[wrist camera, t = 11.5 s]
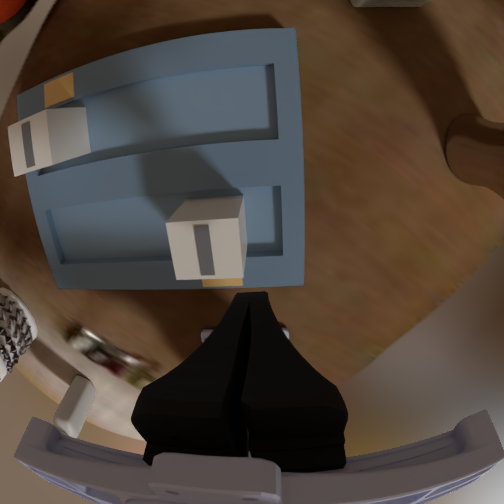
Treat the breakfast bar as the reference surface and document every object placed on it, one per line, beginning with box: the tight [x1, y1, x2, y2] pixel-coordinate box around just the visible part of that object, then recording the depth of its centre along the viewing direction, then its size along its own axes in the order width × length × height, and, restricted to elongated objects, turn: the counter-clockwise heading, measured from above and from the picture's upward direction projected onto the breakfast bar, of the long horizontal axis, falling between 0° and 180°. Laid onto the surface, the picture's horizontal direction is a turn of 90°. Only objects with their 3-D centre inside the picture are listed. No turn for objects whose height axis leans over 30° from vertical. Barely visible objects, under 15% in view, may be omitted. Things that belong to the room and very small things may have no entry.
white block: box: [166, 195, 247, 280], centre depth 18 cm, size 4×4×5 cm
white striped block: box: [8, 107, 91, 177], centre depth 16 cm, size 4×4×5 cm
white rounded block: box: [54, 375, 96, 438], centre depth 27 cm, size 4×6×12 cm
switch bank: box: [17, 28, 305, 290], centre depth 19 cm, size 18×22×2 cm
